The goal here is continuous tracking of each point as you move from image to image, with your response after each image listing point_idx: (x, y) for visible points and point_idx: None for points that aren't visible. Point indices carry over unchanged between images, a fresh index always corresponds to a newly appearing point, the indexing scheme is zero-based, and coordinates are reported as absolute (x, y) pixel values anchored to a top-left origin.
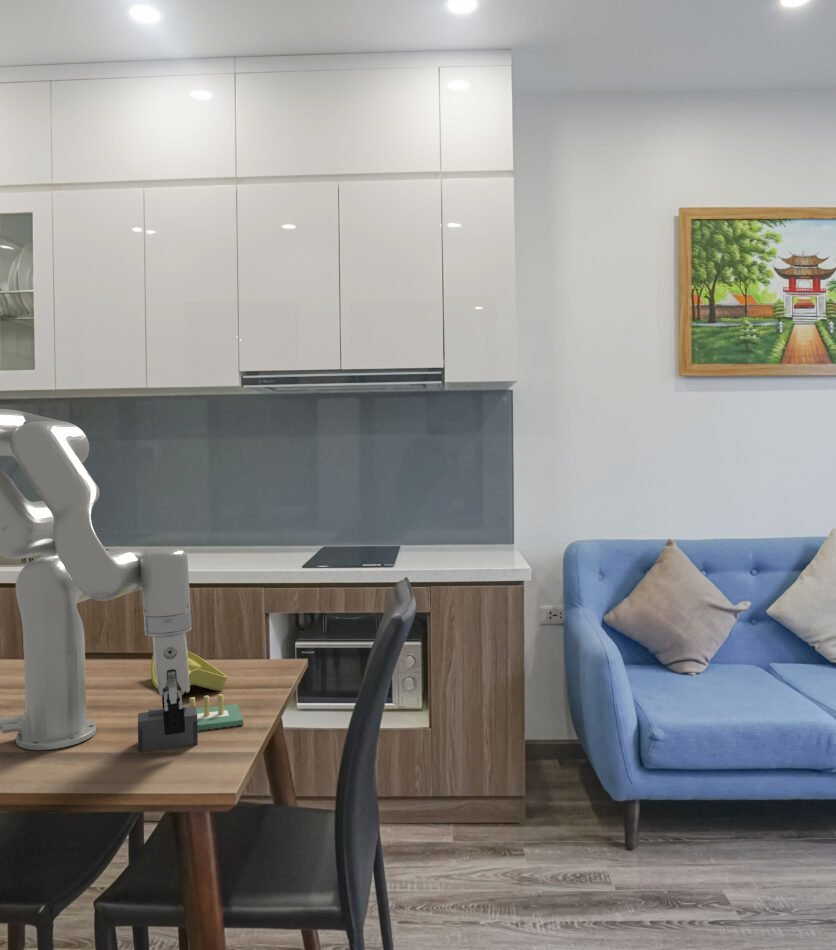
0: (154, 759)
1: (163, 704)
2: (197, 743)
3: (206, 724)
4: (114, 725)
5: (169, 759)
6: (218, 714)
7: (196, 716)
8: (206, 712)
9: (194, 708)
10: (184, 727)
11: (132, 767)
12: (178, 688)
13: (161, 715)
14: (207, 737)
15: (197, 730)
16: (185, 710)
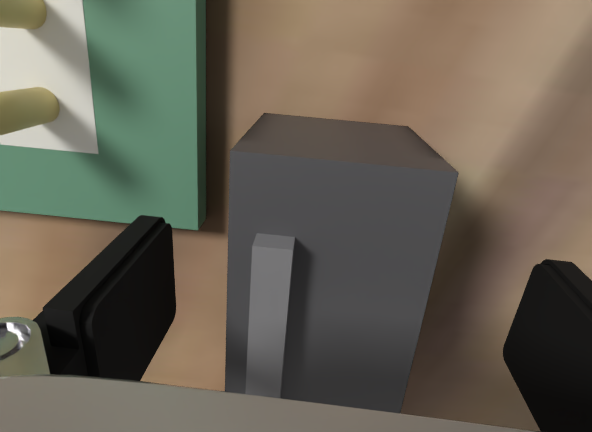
0: (480, 326)
1: (146, 367)
2: (408, 128)
3: (197, 39)
4: None
5: (520, 275)
6: None
7: (456, 175)
8: (28, 10)
9: (275, 166)
10: (582, 276)
11: (510, 399)
12: (41, 344)
13: (329, 388)
14: (327, 55)
15: (203, 95)
16: (295, 239)
